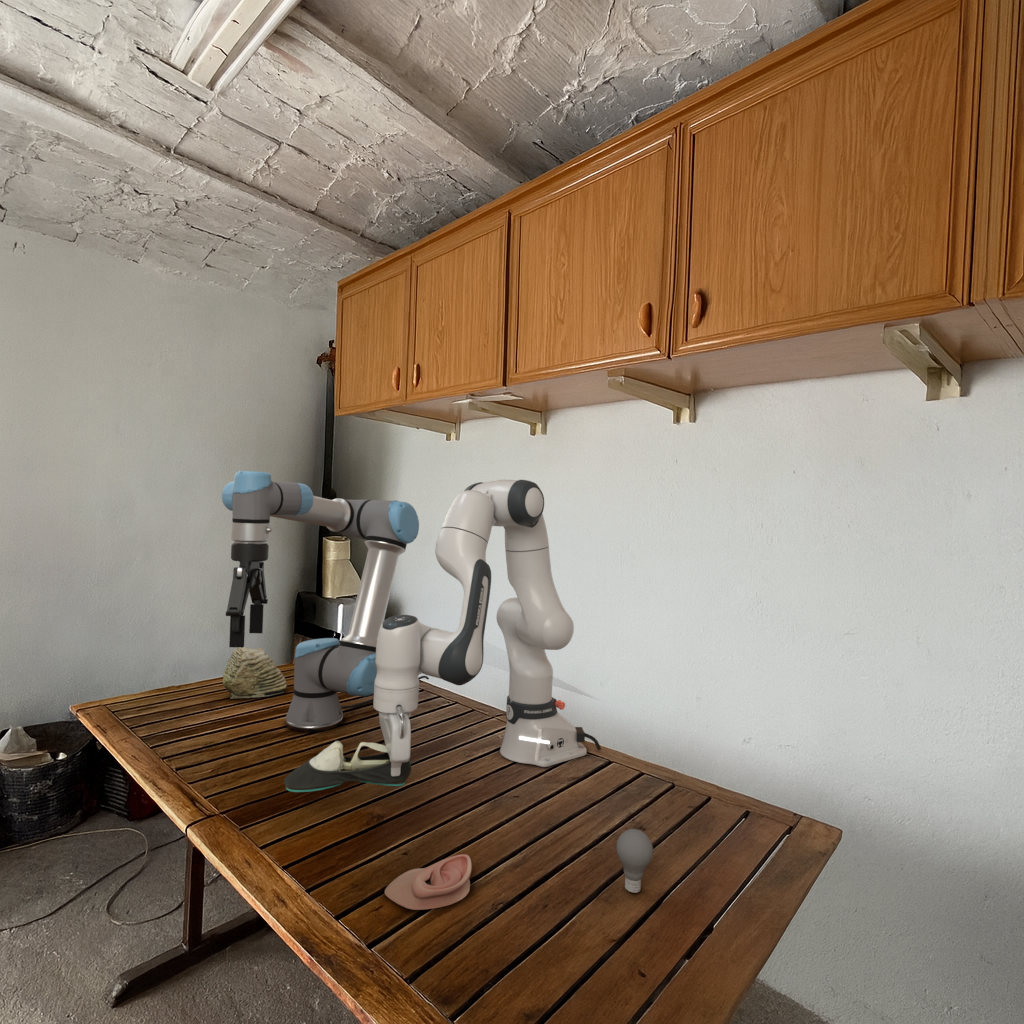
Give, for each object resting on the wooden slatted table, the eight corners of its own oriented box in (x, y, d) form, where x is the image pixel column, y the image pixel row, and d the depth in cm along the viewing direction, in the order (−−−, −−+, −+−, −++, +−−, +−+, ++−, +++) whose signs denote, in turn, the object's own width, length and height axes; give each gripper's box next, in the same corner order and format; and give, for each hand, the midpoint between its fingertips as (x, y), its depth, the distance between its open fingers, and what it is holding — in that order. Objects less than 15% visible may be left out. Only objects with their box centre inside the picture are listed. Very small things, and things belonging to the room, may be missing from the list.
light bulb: (610, 879, 108) (613, 822, 108) (644, 879, 109) (647, 822, 109) (619, 902, 102) (622, 840, 102) (655, 901, 103) (658, 840, 103)
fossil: (218, 695, 195) (220, 647, 195) (278, 685, 208) (279, 640, 207) (228, 703, 189) (230, 653, 188) (289, 692, 201) (290, 645, 201)
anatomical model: (377, 878, 99) (404, 840, 110) (376, 903, 99) (403, 863, 111) (458, 893, 97) (478, 852, 108) (457, 918, 97) (476, 875, 108)
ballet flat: (283, 778, 125) (286, 737, 124) (405, 769, 133) (408, 731, 132) (283, 798, 117) (285, 754, 117) (412, 788, 125) (415, 746, 125)
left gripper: (251, 547, 125) (247, 654, 126) (282, 539, 150) (279, 628, 151) (211, 546, 125) (207, 653, 125) (249, 538, 149) (246, 627, 150)
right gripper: (420, 714, 117) (416, 788, 118) (404, 683, 137) (401, 746, 137) (385, 716, 115) (382, 791, 116) (375, 684, 135) (372, 748, 135)
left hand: (246, 639), depth 138 cm, fingers open, 13 cm apart
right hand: (392, 766), depth 127 cm, fingers closed on ballet flat, 6 cm apart
